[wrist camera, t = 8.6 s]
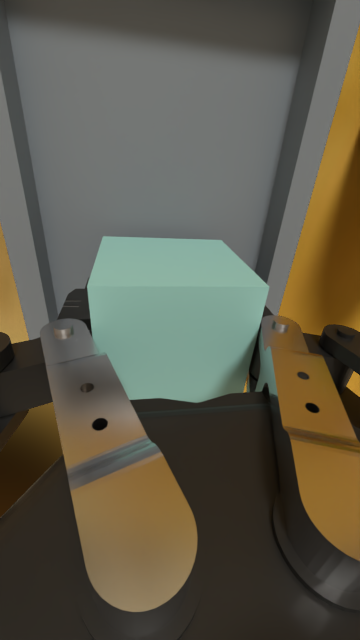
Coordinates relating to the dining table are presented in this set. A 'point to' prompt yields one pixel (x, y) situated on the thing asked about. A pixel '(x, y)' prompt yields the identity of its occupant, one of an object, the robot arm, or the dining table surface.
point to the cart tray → (162, 130)
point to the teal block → (175, 316)
